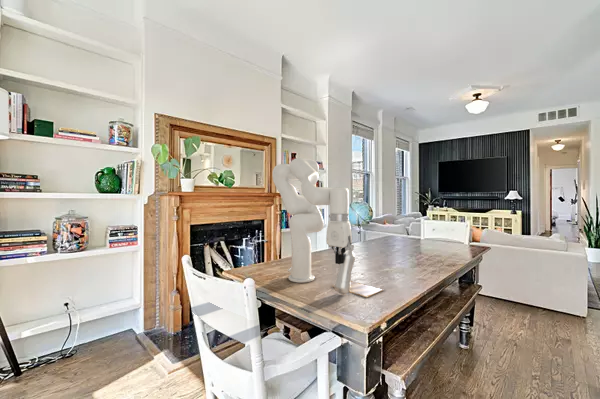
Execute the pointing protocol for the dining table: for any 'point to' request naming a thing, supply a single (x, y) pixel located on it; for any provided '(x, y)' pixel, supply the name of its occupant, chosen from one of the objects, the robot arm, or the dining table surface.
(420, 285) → the dining table surface
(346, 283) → the plastic bottle
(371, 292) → the cork mat
